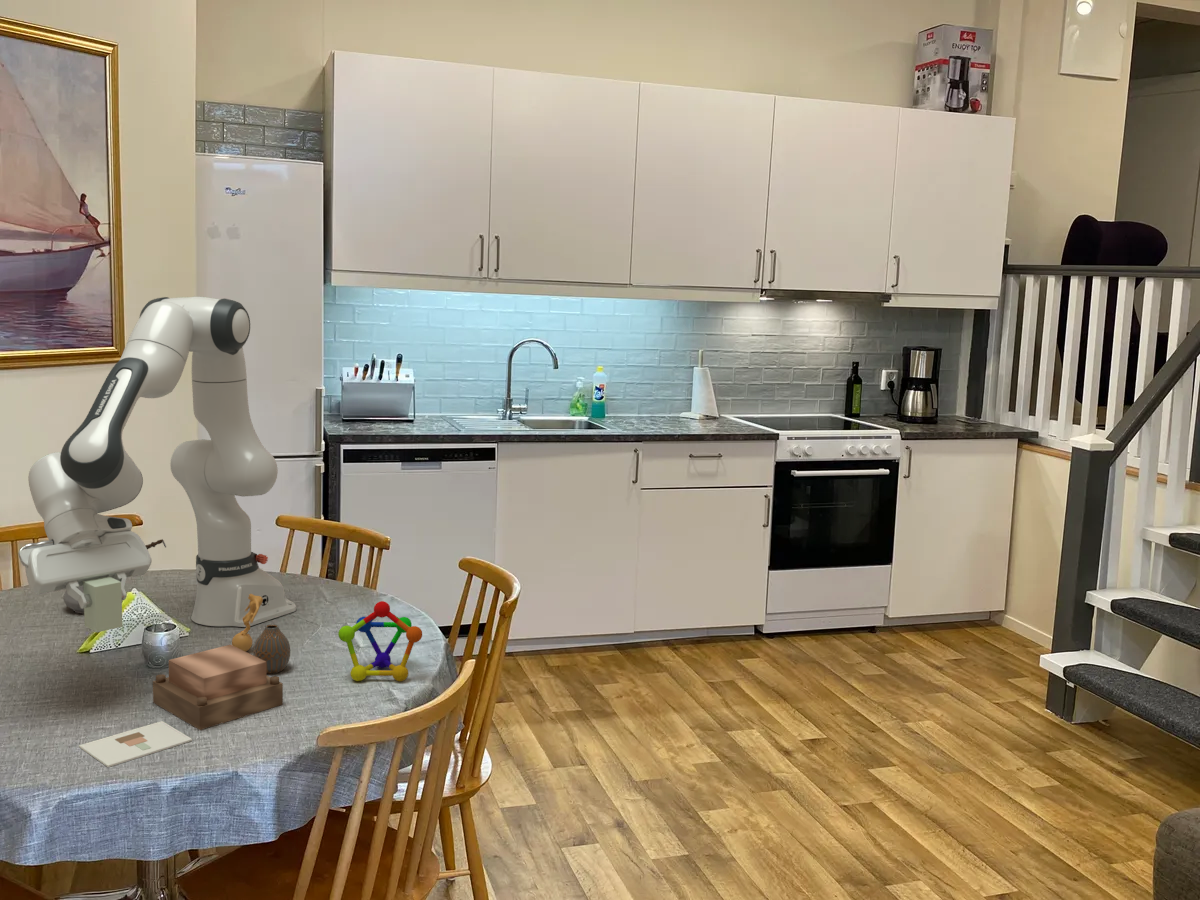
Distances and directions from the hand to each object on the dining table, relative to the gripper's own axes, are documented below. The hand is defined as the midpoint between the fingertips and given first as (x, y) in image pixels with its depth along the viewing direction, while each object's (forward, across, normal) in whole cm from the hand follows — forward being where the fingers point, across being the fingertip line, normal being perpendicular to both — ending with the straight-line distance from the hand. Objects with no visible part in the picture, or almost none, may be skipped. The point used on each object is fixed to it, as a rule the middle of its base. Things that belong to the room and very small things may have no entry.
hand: (104, 602), depth 188 cm
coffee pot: (-24, +26, +52) cm, 63 cm away
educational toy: (+26, +45, +2) cm, 52 cm away
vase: (+16, +31, +12) cm, 37 cm away
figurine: (+7, +33, +20) cm, 39 cm away
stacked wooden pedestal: (+21, +15, +6) cm, 27 cm away
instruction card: (+25, -3, +2) cm, 26 cm away
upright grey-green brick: (+3, 0, +4) cm, 4 cm away
